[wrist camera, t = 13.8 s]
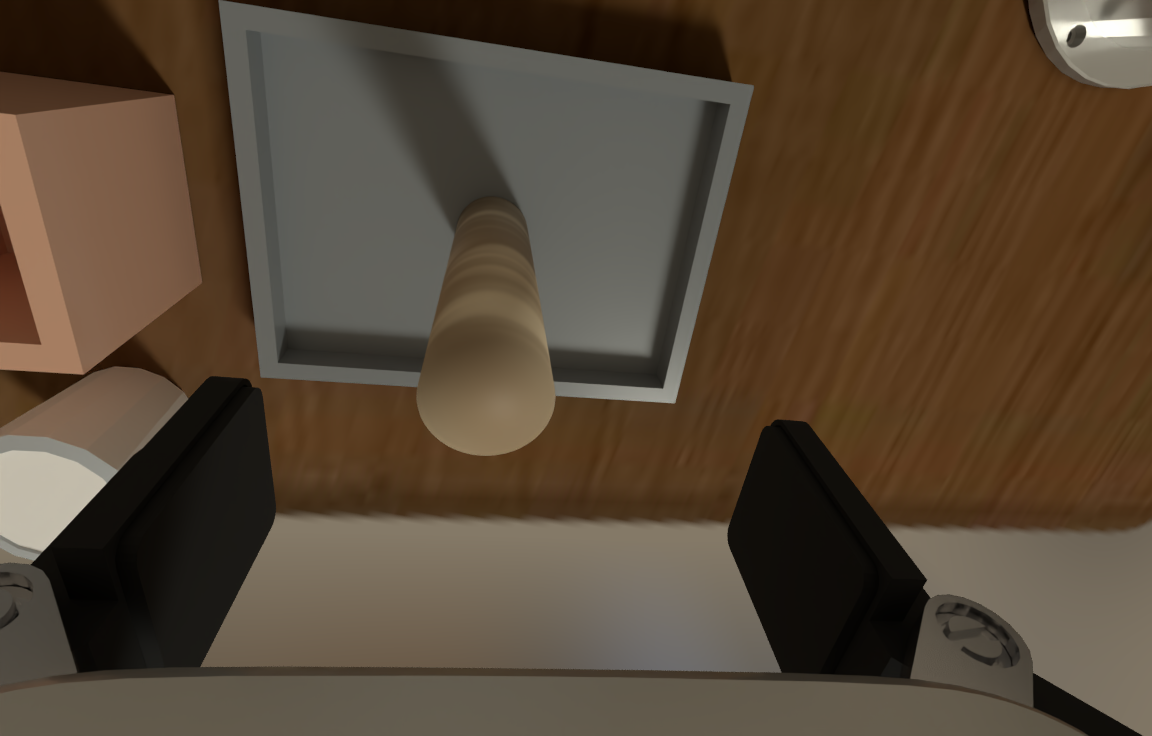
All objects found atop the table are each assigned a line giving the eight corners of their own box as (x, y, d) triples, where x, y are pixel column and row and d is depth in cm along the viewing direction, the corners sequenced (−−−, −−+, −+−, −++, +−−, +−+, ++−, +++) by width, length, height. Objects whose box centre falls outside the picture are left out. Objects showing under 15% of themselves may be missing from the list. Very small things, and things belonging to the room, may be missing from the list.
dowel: (484, 181, 26) (470, 309, 13) (541, 226, 27) (583, 386, 14) (442, 238, 27) (388, 412, 14) (499, 279, 28) (501, 476, 15)
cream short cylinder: (58, 338, 28) (-64, 418, 22) (217, 374, 30) (144, 457, 24) (60, 454, 31) (-48, 553, 25) (205, 480, 33) (138, 579, 26)
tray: (732, 83, 26) (754, 85, 24) (663, 379, 33) (674, 403, 31) (245, 5, 23) (218, -1, 21) (278, 353, 30) (260, 377, 27)
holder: (173, 94, 24) (15, 114, 16) (202, 282, 28) (83, 374, 20) (-57, 63, 23) (-353, 69, 15) (4, 265, 26) (-208, 356, 18)
